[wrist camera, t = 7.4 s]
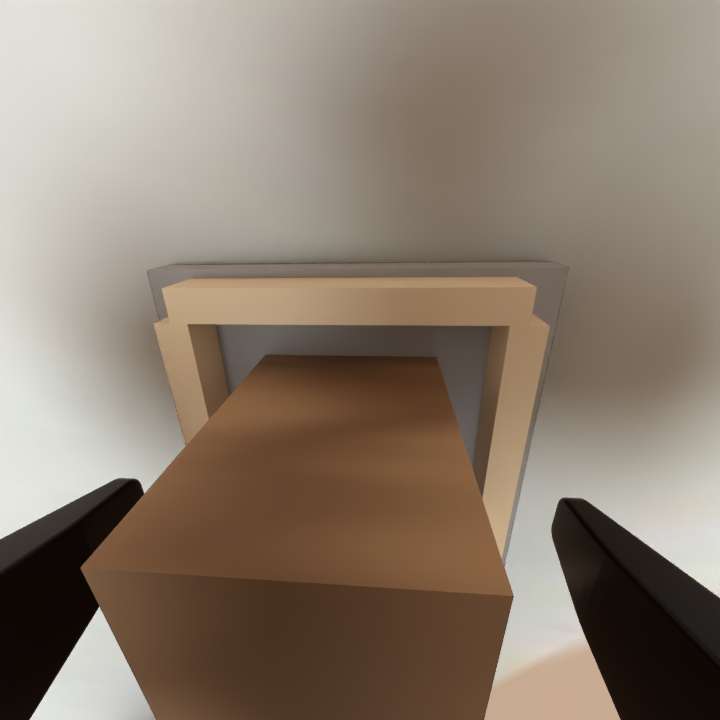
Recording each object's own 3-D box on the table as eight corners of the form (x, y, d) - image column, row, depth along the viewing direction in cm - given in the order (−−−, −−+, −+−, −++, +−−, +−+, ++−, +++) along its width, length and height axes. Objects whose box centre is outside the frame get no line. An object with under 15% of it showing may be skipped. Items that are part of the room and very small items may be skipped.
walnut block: (436, 356, 9) (512, 595, 3) (426, 491, 11) (466, 792, 5) (265, 354, 9) (80, 567, 4) (283, 485, 11) (176, 760, 5)
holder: (461, 722, 18) (501, 1012, 11) (271, 704, 19) (208, 965, 12) (549, 261, 9) (1006, 403, 2) (170, 264, 9) (-295, 377, 3)
